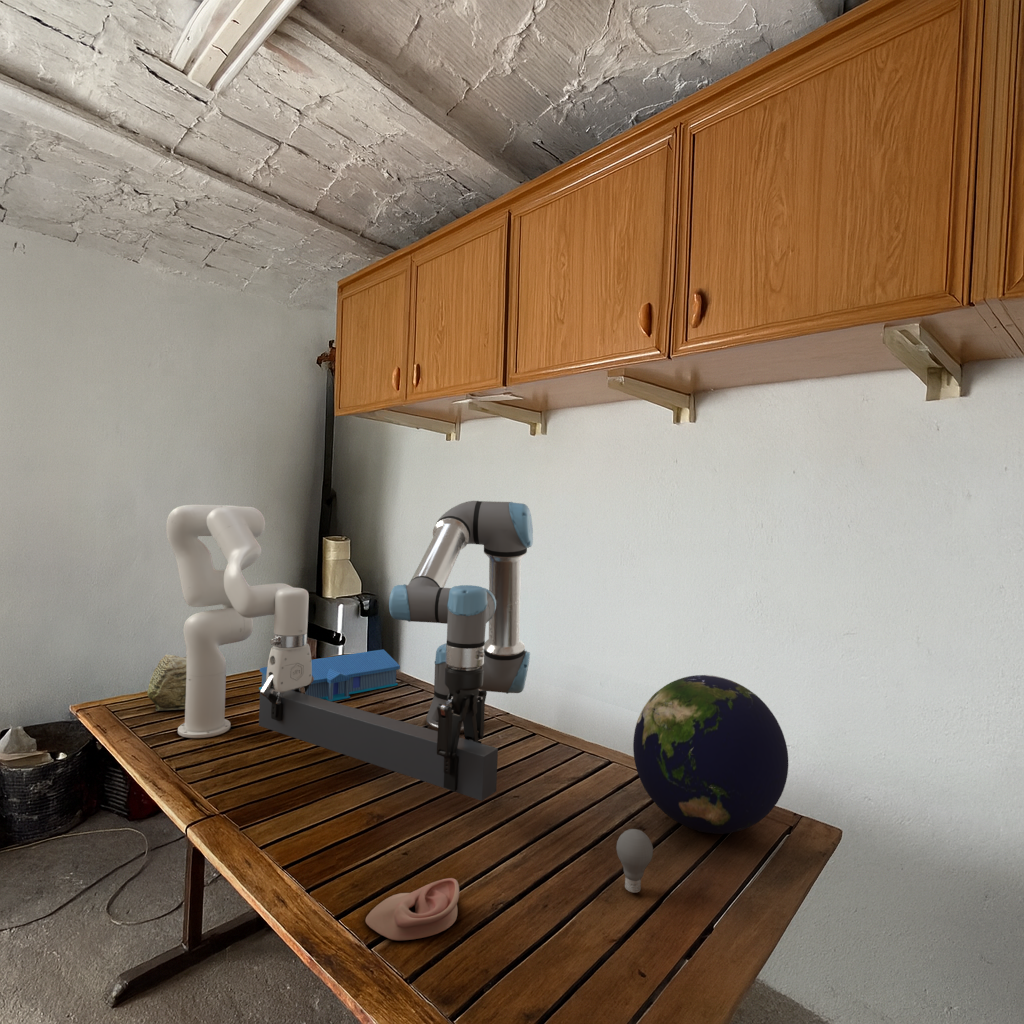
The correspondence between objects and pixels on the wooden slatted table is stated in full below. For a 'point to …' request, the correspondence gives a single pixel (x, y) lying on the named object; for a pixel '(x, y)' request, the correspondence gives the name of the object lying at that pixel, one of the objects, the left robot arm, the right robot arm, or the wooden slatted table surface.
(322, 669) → the model building
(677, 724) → the globe
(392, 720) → the post
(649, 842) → the light bulb
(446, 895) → the anatomical model
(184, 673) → the fossil
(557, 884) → the wooden slatted table surface
